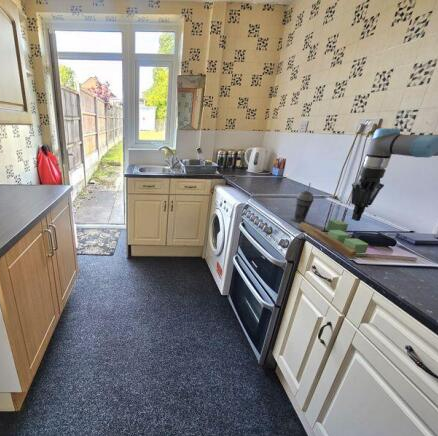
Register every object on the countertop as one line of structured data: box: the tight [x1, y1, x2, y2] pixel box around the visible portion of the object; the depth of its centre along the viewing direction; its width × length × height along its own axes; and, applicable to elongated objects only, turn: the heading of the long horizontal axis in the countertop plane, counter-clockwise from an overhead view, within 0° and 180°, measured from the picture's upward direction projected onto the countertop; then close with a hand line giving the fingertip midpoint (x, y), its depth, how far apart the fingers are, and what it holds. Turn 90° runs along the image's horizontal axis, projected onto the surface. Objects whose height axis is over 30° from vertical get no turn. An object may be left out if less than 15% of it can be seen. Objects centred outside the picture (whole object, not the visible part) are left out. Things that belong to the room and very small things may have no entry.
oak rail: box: [299, 221, 357, 260], centre depth 103 cm, size 2×28×3 cm, turn 5°
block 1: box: [326, 219, 349, 233], centre depth 112 cm, size 5×5×5 cm
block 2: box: [344, 238, 370, 257], centre depth 93 cm, size 5×5×5 cm
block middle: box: [327, 230, 351, 244], centre depth 101 cm, size 5×5×5 cm
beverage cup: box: [293, 182, 314, 224], centre depth 121 cm, size 7×7×20 cm
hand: (355, 219), depth 111 cm, fingers closed
